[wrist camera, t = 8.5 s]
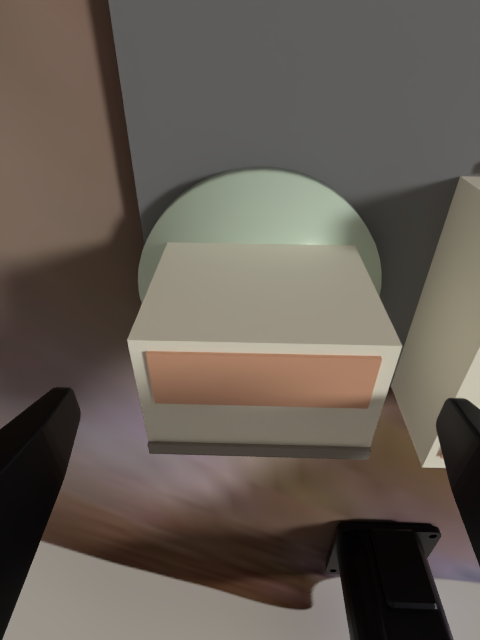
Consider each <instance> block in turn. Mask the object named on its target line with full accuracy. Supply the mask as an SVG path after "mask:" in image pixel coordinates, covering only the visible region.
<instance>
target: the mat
mask: <svg viewBox="0 0 480 640" xmlns="http://www.w3.org/2000/svg"><path fill="white" fill-rule="evenodd" d="M108 2H109V9H110V16H111V22H112V29H113V36H114V43H115V50H116V57H117V63H118V70H119V77H120V84H121V91H122V97H123V104H124V111H125V118H126V125H127V132H128V138H129V145H130V152H131V159H132V166H133V173H134V179H135V186H136V193H137V200H138V207H139V213H140V220H141V227H142V234H143V241H144V246H145V243H146V241H147V238H148V236H149V235H150V233H151V231H152V229H153V227H154V225H155V224H156V222H157V220H158V219H159V217H160V215H161V214H162V213H163V212H164V210H165V209H166V208H167V207H168V205H169V204H170V203H171V202H172V201H173V200H175V199H176V198H177V197H178V196H179V195H180V194H181V193H182V192H184V191H185V190H187V189H188V188H190V187H191V186H192V185H194V184H195V183H197V182H199V181H201V180H204V179H206V178H208V177H210V176H212V175H215V174H218V173H221V172H224V171H227V170H232V169H237V168H243V167H255V166H268V167H279V168H285V169H289V170H294V171H298V172H301V173H304V174H306V175H309V176H311V177H314V178H316V179H318V180H320V181H322V182H323V183H325V184H327V185H329V186H330V187H332V188H333V189H334V190H336V191H337V192H338V193H340V194H341V195H342V196H343V197H344V198H345V199H346V200H347V201H348V202H349V203H350V204H351V205H352V206H353V207H354V208H355V210H356V211H357V212H358V214H359V215H360V217H361V218H362V220H363V221H364V223H365V225H366V226H367V228H368V230H369V232H370V234H371V236H372V238H373V240H374V242H375V244H376V247H377V251H378V254H379V257H380V264H381V271H382V276H381V290H380V296H379V297H380V299H381V302H382V304H383V306H384V308H385V310H386V312H387V314H388V316H389V319H390V321H391V323H392V325H393V327H394V329H395V331H396V333H397V336H398V338H399V340H400V342H401V344H402V349H401V352H400V355H399V358H398V361H397V364H396V368H395V371H394V374H393V377H392V380H391V383H390V386H391V384H392V381H393V378H394V375H395V372H396V369H397V366H398V363H399V360H400V357H401V354H402V351H403V348H404V344H405V341H406V338H407V335H408V332H409V329H410V326H411V323H412V320H413V317H414V314H415V311H416V308H417V305H418V302H419V299H420V296H421V293H422V290H423V287H424V284H425V281H426V278H427V275H428V272H429V269H430V266H431V263H432V260H433V257H434V254H435V251H436V248H437V245H438V242H439V239H440V236H441V233H442V230H443V227H444V224H445V221H446V218H447V215H448V212H449V208H450V205H451V202H452V199H453V196H454V193H455V190H456V187H457V184H458V181H459V178H460V176H471V177H480V0H108Z"/></svg>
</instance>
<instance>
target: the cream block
mask: <svg viewBox="0 0 480 640" xmlns="http://www.w3.org/2000/svg"><path fill="white" fill-rule="evenodd" d="M127 342H128V347H129V352H130V356H131V361H132V366H133V370H134V375H135V380H136V384H137V389H138V394H139V399H140V403H141V408H142V413H143V417H144V422H145V427H146V431H147V436H148V441H149V442H148V448H149V453H150V454H183V455H219V456H255V457H291V458H327V459H362V460H368V458H369V455H370V452H371V449H370V446H371V442H372V439H373V436H374V433H375V430H376V427H377V424H378V421H379V417H380V414H381V411H382V408H383V405H384V402H385V399H386V396H387V393H388V389H389V386H390V383H391V380H392V377H393V374H394V371H395V368H396V364H397V361H398V358H399V355H400V352H401V349H402V344H401V342H400V340H399V338H398V336H397V333H396V331H395V329H394V327H393V325H392V323H391V321H390V319H389V316H388V314H387V312H386V310H385V308H384V306H383V304H382V302H381V299H380V297H379V295H378V293H377V291H376V289H375V287H374V285H373V283H372V280H371V278H370V276H369V274H368V272H367V270H366V268H365V266H364V263H363V261H362V259H361V257H360V255H359V253H358V251H357V249H356V246H355V245H306V244H242V243H178V242H167V245H166V247H165V250H164V252H163V254H162V257H161V259H160V262H159V264H158V267H157V269H156V271H155V274H154V276H153V279H152V281H151V283H150V286H149V288H148V291H147V293H146V295H145V298H144V300H143V303H142V305H141V308H140V310H139V312H138V315H137V317H136V320H135V322H134V324H133V327H132V329H131V332H130V334H129V337H128V339H127Z"/></svg>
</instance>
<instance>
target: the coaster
mask: <svg viewBox="0 0 480 640" xmlns="http://www.w3.org/2000/svg"><path fill="white" fill-rule="evenodd" d="M167 242H178V243H242V244H306V245H355V246H356V249H357V251H358V253H359V255H360V257H361V259H362V261H363V263H364V266H365V268H366V270H367V272H368V274H369V276H370V278H371V280H372V283H373V285H374V287H375V289H376V291H377V293H378V295H379V296H380V290H381V276H382V271H381V264H380V257H379V254H378V251H377V247H376V244H375V242H374V240H373V238H372V236H371V234H370V232H369V230H368V228H367V226H366V225H365V223H364V221H363V220H362V218H361V217H360V215H359V214H358V212H357V211H356V210H355V208H354V207H353V206H352V205H351V204H350V203H349V202H348V201H347V200H346V199H345V198H344V197H343V196H342V195H341V194H340V193H338V192H337V191H336V190H334V189H333V188H332V187H330V186H329V185H327V184H325V183H323V182H322V181H320V180H318V179H316V178H314V177H311V176H309V175H306V174H304V173H301V172H298V171H294V170H289V169H285V168H279V167H268V166H255V167H243V168H237V169H232V170H227V171H224V172H221V173H218V174H215V175H212V176H210V177H208V178H206V179H204V180H201V181H199V182H197V183H195V184H194V185H192V186H191V187H190V188H188V189H187V190H185V191H184V192H182V193H181V194H180V195H179V196H178V197H177V198H176V199H175V200H173V201H172V202H171V203H170V204H169V205H168V207H167V208H166V209H165V210H164V212H163V213H162V214H161V215H160V217H159V219H158V220H157V222H156V224H155V225H154V227H153V229H152V231H151V233H150V235H149V236H148V238H147V241H146V243H145V246H144V248H143V251H142V254H141V259H140V263H139V270H138V287H139V296H140V300H141V304H142V303H143V300H144V298H145V295H146V293H147V291H148V288H149V286H150V283H151V281H152V279H153V276H154V274H155V271H156V269H157V267H158V264H159V262H160V259H161V257H162V254H163V252H164V250H165V247H166V245H167Z"/></svg>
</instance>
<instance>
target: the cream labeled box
mask: <svg viewBox="0 0 480 640" xmlns="http://www.w3.org/2000/svg"><path fill="white" fill-rule="evenodd" d="M391 388H392V390H393V393H394V396H395V398H396V401H397V403H398V406H399V409H400V411H401V414H402V416H403V419H404V422H405V424H406V427H407V429H408V432H409V435H410V437H411V440H412V442H413V445H414V447H415V450H416V453H417V455H418V458H419V460H420V463H421V466H422V467H432V468H446V467H445V463H444V459H443V455H442V451H441V447H440V443H439V439H438V435H437V431H436V420H437V417H438V415H439V413H440V411H441V409H442V407H443V404H444V402H445V401H446V400H447V399H448V398H465V399H467V400H469V401H470V402H471V403H473V404H474V405H475V406H477V407H478V408H479V409H480V177H471V176H460V178H459V181H458V184H457V187H456V190H455V193H454V196H453V199H452V202H451V205H450V208H449V212H448V215H447V218H446V221H445V224H444V227H443V230H442V233H441V236H440V239H439V242H438V245H437V248H436V251H435V254H434V257H433V260H432V263H431V266H430V269H429V272H428V275H427V278H426V281H425V284H424V287H423V290H422V293H421V296H420V299H419V302H418V305H417V308H416V311H415V314H414V317H413V320H412V323H411V326H410V329H409V332H408V335H407V338H406V341H405V344H404V348H403V351H402V354H401V357H400V360H399V363H398V366H397V369H396V372H395V375H394V378H393V381H392V384H391Z"/></svg>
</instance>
